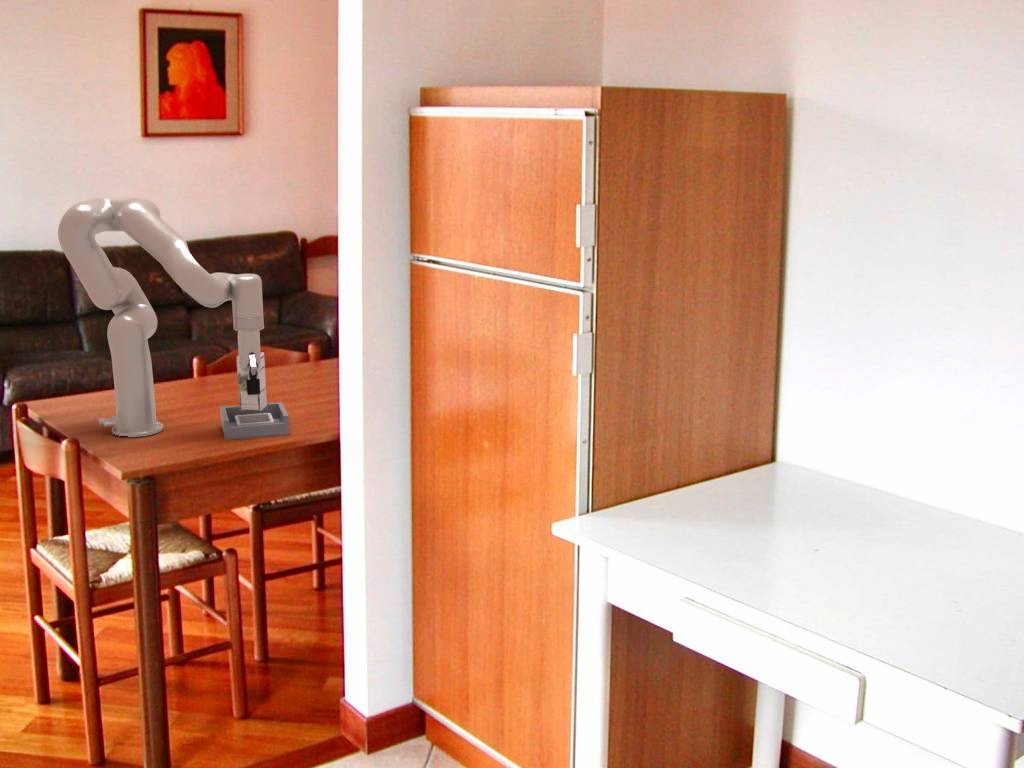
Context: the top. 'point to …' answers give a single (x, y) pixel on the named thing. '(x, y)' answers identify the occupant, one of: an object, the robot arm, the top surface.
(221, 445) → the top surface
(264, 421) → the walled box
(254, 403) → the syrup box
